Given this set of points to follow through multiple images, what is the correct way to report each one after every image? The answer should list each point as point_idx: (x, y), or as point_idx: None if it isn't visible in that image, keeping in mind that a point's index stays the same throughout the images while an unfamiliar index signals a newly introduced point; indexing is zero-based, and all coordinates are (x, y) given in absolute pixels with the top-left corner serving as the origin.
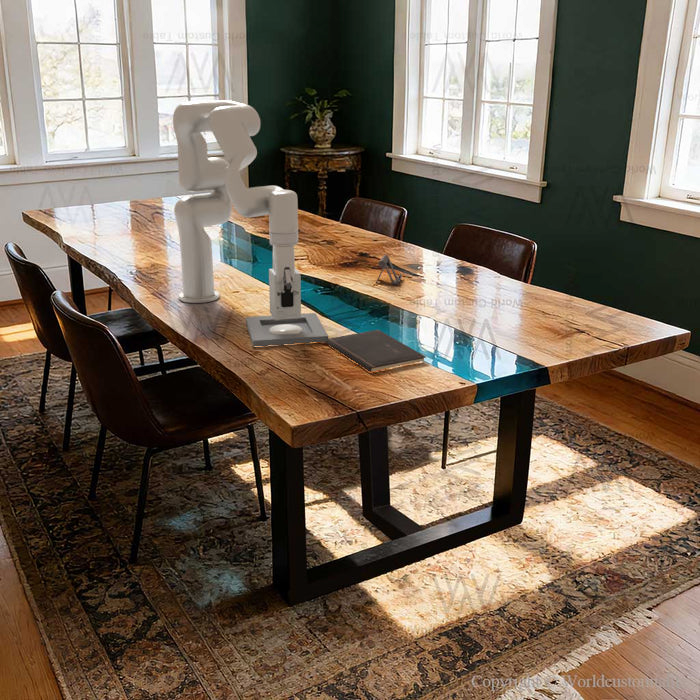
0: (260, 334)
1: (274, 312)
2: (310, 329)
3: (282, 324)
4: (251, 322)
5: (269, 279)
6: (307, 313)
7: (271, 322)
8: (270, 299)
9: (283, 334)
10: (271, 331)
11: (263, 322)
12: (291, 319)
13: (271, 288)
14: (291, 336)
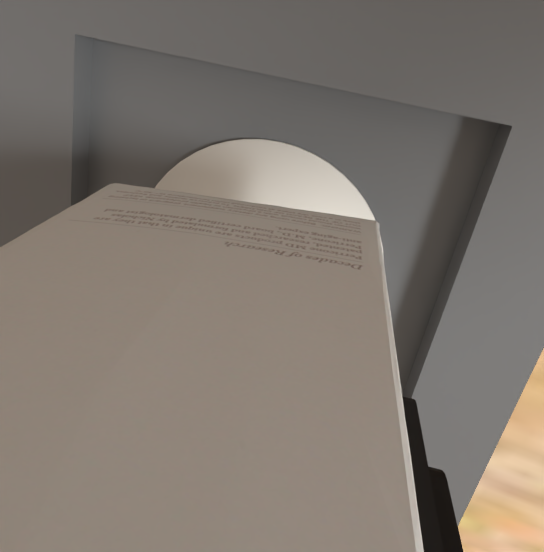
0: (106, 2)
1: (99, 205)
2: None
3: (395, 291)
4: (485, 23)
5: (337, 538)
6: (465, 509)
7: (464, 226)
8: (297, 273)
9: (65, 193)
10: (252, 151)
11: (490, 159)
12: (415, 377)
13: (111, 365)
14: (12, 231)
